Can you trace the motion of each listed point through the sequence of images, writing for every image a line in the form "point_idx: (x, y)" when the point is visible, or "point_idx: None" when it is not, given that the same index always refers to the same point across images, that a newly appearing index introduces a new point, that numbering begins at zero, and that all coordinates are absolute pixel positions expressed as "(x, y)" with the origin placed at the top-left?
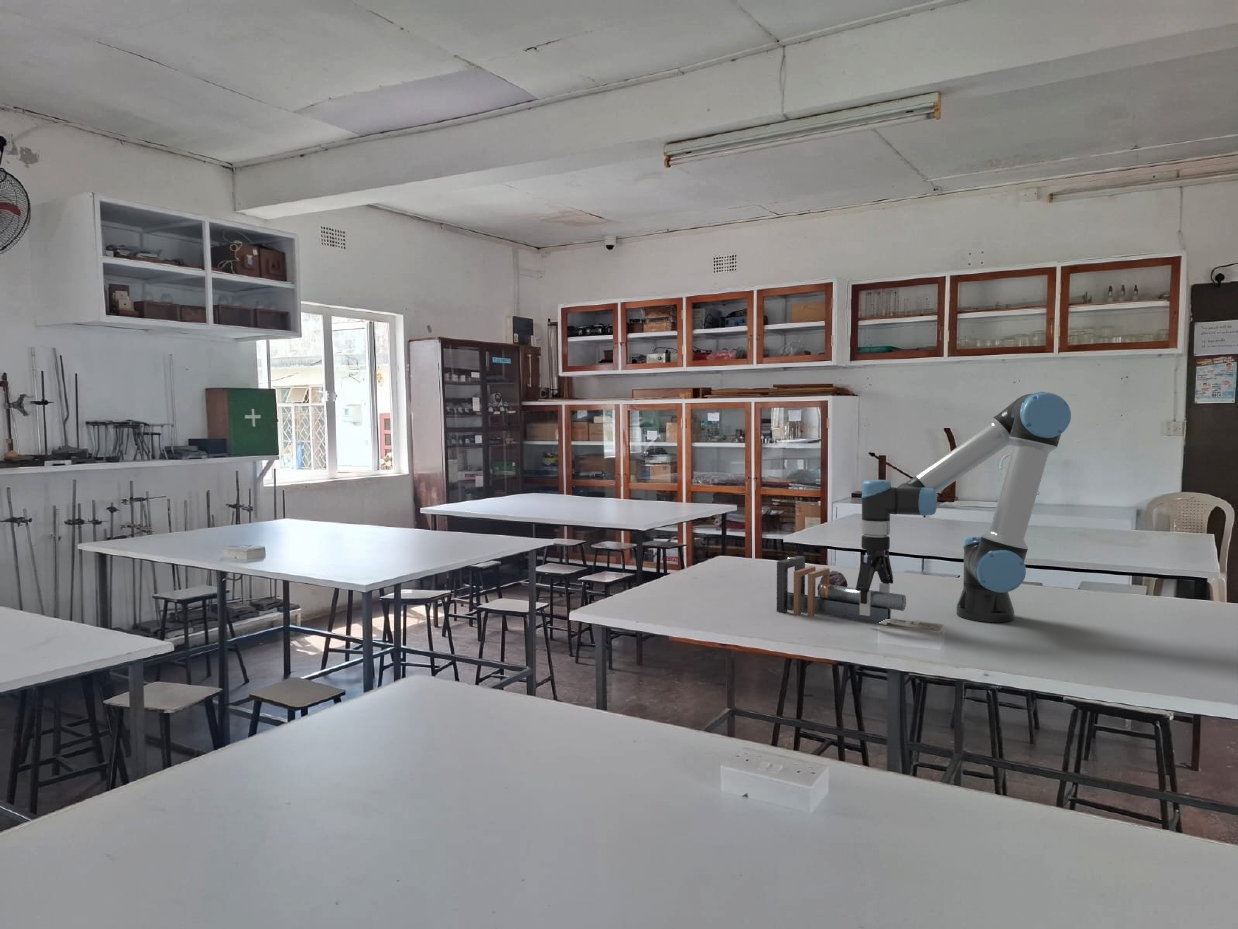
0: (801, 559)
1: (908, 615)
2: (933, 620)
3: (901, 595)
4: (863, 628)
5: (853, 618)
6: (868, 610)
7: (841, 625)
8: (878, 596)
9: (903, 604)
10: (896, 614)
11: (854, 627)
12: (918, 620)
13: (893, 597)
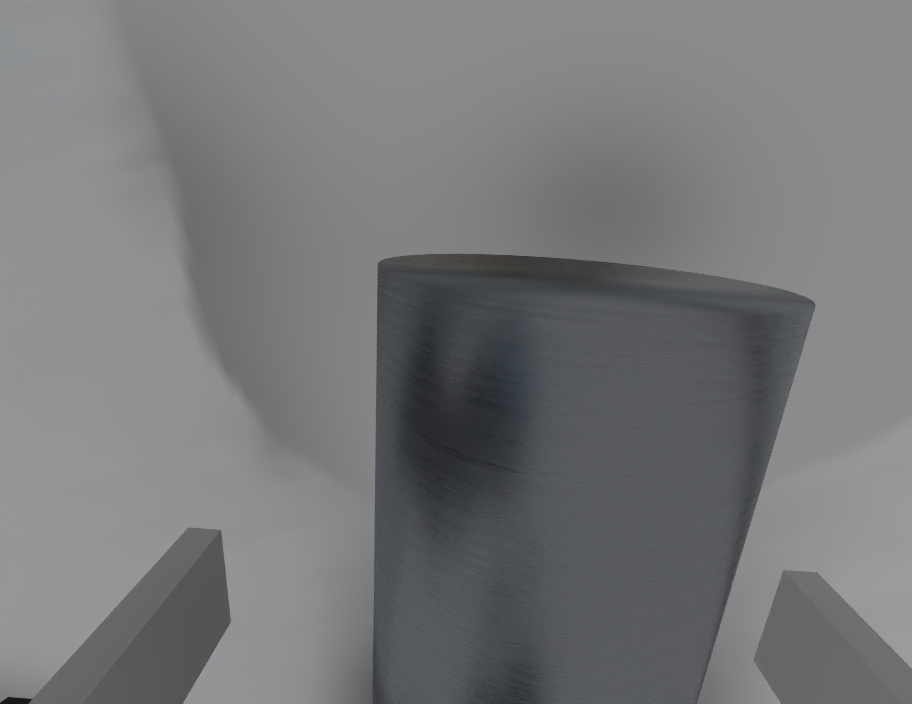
0: None
1: (21, 337)
2: (9, 27)
3: (735, 353)
4: (767, 519)
5: None
6: (871, 639)
7: (743, 668)
8: None
9: (553, 267)
10: (76, 440)
11: (765, 582)
12: (141, 184)
13: (749, 525)
